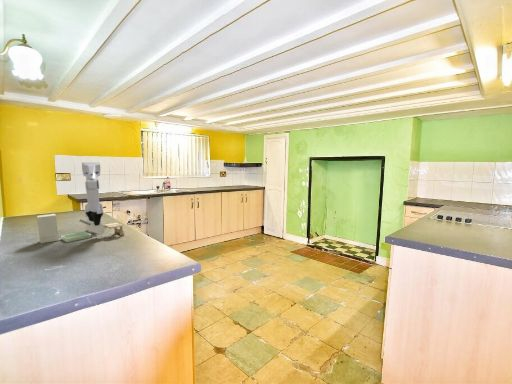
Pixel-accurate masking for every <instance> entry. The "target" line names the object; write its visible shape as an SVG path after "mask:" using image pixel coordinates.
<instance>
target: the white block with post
mask: <svg viewBox="0 0 512 384" xmlns="http://www.w3.org/2000/svg"><path fill="white" fill-rule="evenodd" d="M79 222H80V223H82V224H85V225H86V226H85V227H84V229H85V230H89V231H92V232H93V233H95V234H97V235H99V236H103V235H104V233H105V232H106V229H107V227H105V226H104V224H103V225H100V224H99V225H97V226H95V224H94V222H93V221H89V222H87V220H86V221H85V220H83V219H79Z"/></svg>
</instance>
